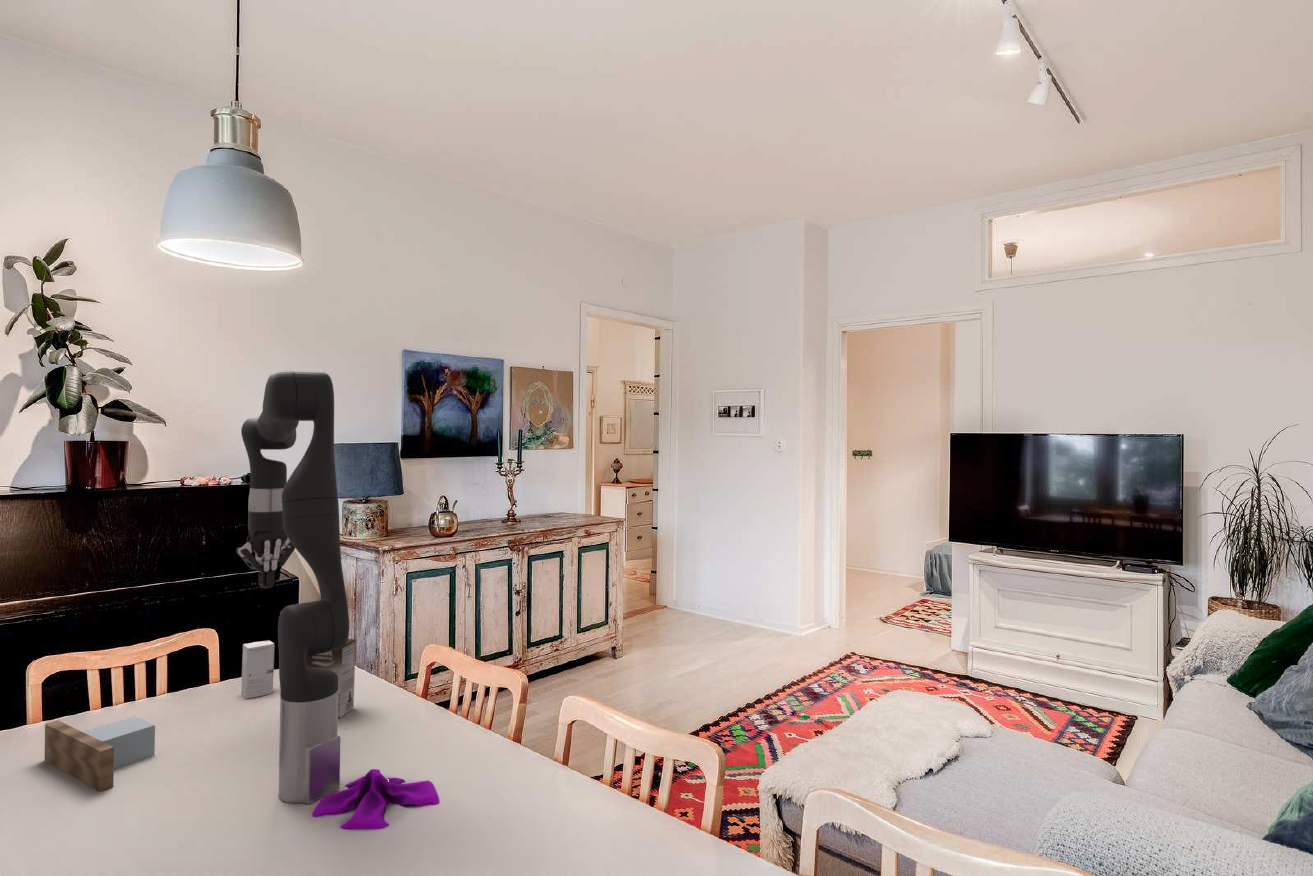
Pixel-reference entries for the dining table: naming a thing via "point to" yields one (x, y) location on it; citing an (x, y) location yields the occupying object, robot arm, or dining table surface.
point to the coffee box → (339, 672)
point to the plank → (79, 755)
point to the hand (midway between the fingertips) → (266, 587)
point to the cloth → (374, 799)
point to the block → (127, 739)
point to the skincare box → (257, 669)
